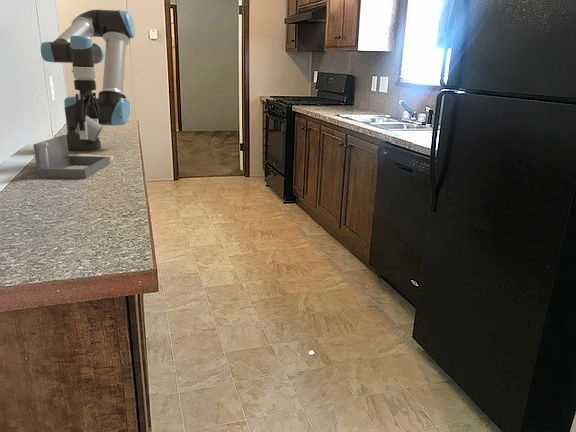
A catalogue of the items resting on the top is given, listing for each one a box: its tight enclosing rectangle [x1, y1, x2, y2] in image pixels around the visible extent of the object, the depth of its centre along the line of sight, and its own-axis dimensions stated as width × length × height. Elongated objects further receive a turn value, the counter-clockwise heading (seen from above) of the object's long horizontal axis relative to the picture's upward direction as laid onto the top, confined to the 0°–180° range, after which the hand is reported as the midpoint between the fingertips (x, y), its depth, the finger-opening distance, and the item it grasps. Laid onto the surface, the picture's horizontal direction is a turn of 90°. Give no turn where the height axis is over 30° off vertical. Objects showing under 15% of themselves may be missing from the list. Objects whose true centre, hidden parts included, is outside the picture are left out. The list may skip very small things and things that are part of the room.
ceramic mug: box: [75, 116, 104, 141], centre depth 183 cm, size 11×8×8 cm
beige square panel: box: [76, 153, 117, 161], centre depth 187 cm, size 14×14×1 cm
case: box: [32, 134, 111, 180], centre depth 166 cm, size 24×16×11 cm, turn 1°
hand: (90, 137), depth 184 cm, fingers closed on ceramic mug, 12 cm apart
